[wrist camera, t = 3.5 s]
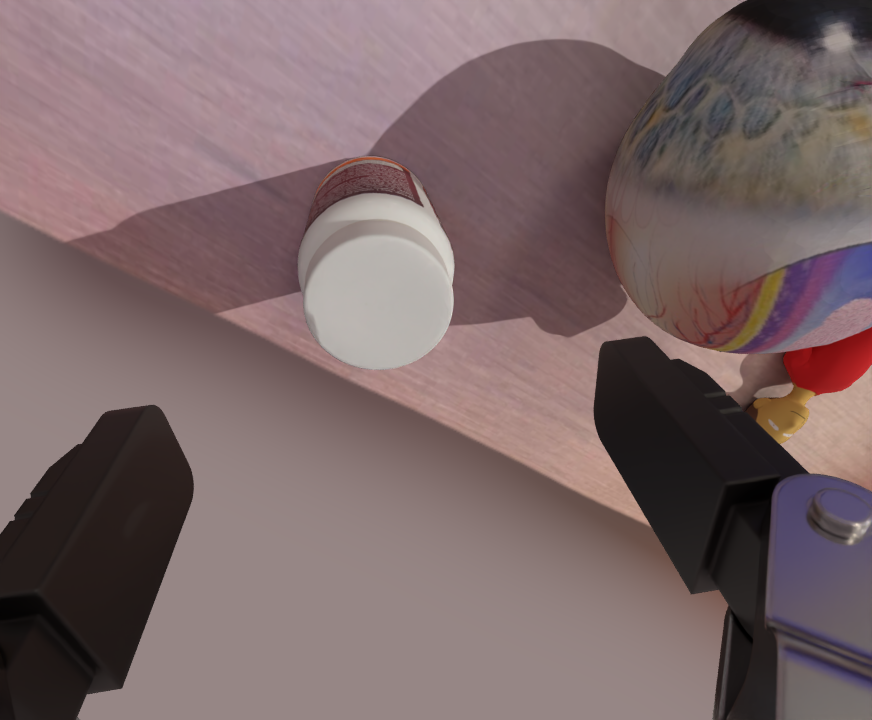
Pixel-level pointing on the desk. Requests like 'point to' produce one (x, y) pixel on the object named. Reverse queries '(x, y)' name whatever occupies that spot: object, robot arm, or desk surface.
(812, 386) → the person figure
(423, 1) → the desk surface
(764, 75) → the anatomical model
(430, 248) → the pill bottle
